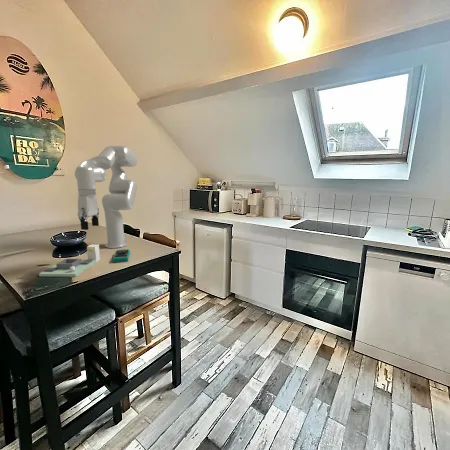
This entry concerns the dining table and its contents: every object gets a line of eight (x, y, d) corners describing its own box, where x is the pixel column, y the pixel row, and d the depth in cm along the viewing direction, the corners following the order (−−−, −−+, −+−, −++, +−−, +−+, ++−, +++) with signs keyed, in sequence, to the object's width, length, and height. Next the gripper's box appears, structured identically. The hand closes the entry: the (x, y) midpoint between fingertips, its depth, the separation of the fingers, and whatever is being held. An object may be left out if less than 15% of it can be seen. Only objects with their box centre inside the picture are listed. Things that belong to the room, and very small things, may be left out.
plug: (92, 259, 132) (90, 244, 131) (100, 259, 132) (98, 244, 131) (87, 262, 128) (85, 247, 126) (95, 262, 128) (94, 247, 126)
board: (64, 261, 129) (63, 254, 128) (96, 262, 129) (95, 255, 128) (39, 276, 111) (37, 268, 110) (75, 276, 111) (74, 268, 110)
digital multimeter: (130, 253, 144) (129, 248, 143) (128, 262, 130) (127, 256, 129) (116, 254, 142) (115, 249, 141) (112, 263, 128) (112, 258, 127)
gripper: (89, 191, 132) (92, 224, 135) (68, 194, 115) (72, 231, 118) (103, 191, 132) (106, 224, 135) (84, 194, 115) (88, 231, 118)
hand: (90, 227), depth 126 cm, fingers open, 9 cm apart
